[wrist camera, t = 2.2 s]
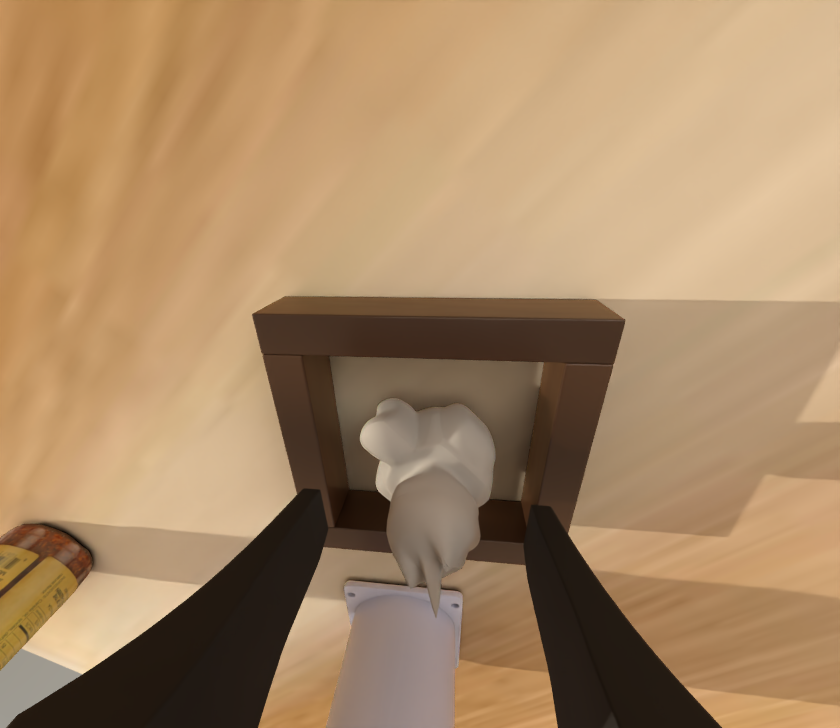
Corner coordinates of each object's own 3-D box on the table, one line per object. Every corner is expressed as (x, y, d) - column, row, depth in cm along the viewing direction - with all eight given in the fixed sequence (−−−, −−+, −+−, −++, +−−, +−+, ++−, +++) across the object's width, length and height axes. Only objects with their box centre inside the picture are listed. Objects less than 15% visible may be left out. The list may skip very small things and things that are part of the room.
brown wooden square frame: (546, 524, 18) (559, 568, 16) (326, 507, 19) (309, 546, 17) (596, 299, 13) (626, 319, 10) (284, 296, 14) (251, 313, 12)
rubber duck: (439, 489, 18) (425, 679, 11) (347, 412, 16) (261, 576, 9) (520, 438, 16) (571, 630, 9) (425, 345, 14) (391, 487, 7)
